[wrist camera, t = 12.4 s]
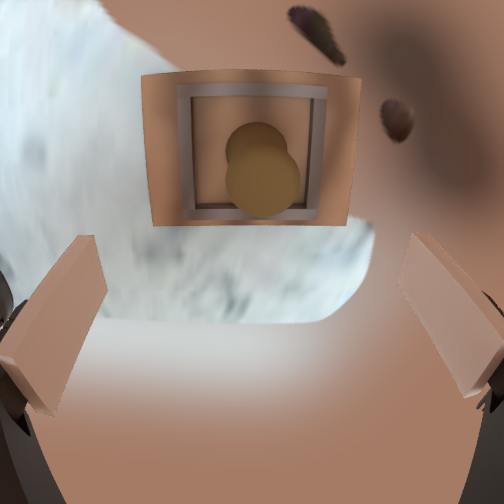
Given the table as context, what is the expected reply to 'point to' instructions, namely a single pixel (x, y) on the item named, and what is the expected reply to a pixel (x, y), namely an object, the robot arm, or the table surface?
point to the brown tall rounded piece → (260, 170)
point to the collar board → (232, 117)
